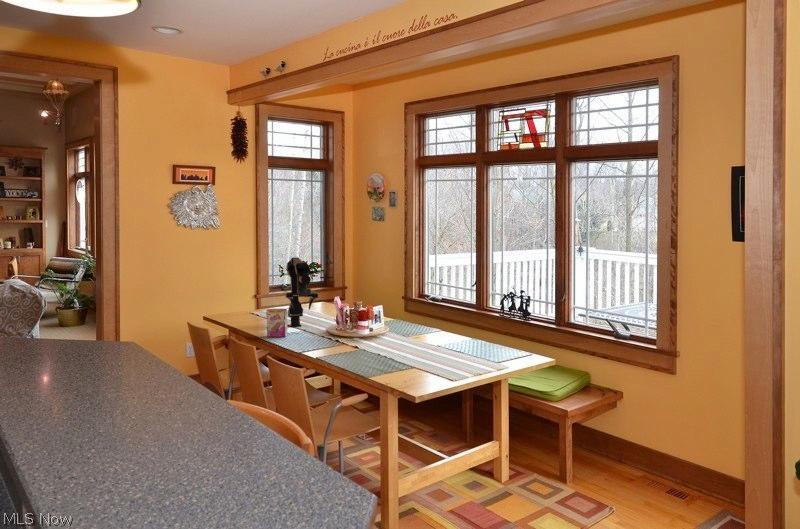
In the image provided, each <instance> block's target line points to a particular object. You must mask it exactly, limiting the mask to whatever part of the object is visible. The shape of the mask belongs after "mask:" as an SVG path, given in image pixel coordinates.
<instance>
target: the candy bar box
mask: <svg viewBox="0 0 800 529" xmlns="http://www.w3.org/2000/svg"><path fill="white" fill-rule="evenodd" d="M288 334H289V333H288V309H287V308H268V309H266V336H267V338H286V337H288Z"/></svg>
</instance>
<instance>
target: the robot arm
mask: <svg viewBox="0 0 800 529" xmlns="http://www.w3.org/2000/svg"><path fill="white" fill-rule="evenodd" d="M285 269H286V272H287V275H288V277H289V280H290V291H289V292H288V291H287V292H286V293H285V298H287V299H288V300H289V301H290V303H289V304H288V306H289V307H288V309H287V318H288V317H289V318H290V324H289V327H291V328H294V327H295V328H296V327H302V324H301V318H300V317H303V316H304V315H303V313H304V308H303V307H302V303H301V302H300V300H299V298H302V297H303V298H309V303H308V311H309V310H311V306H312V305H313V302H314V300H317V299H318V298H319V294H318V292H312V289H311V288H308V285H309V284H310V283H311V282H312V278H311V277H310V275H309V274H311V268H310V265H309V264H308V262H307V261H302V260H301V259H300V257H297V256H296V257H291V258H290V260H289V261H287V263H286V268H285Z"/></svg>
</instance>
